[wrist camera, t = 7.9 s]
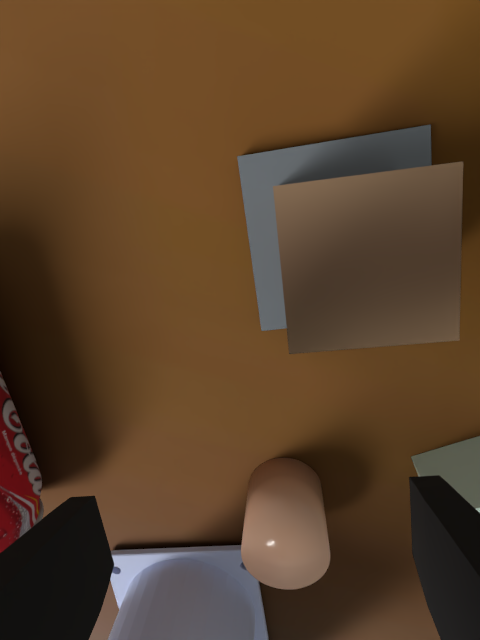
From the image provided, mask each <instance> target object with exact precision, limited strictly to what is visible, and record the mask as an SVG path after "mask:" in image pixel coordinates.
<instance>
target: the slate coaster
mask: <svg viewBox="0 0 480 640" xmlns="http://www.w3.org/2000/svg"><path fill="white" fill-rule="evenodd" d="M237 158H238V165H239V172H240V179H241V186H242V194H243V201H244V208H245V215H246V222H247V230H248V237H249V244H250V251H251V258H252V265H253V273H254V280H255V287H256V294H257V301H258V309H259V316H260V323H261V330H262V331H265V330H275V329H284V328H287V325H286V315H285V305H284V295H283V284H282V274H281V264H280V254H279V243H278V233H277V223H276V213H275V202H274V192H273V186H278V185H285V184H293V183H301V182H308V181H316V180H324V179H331V178H339V177H347V176H354V175H362V174H370V173H377V172H385V171H393V170H401V169H408V168H416V167H424V166H431V125H425V126H419V127H413V128H407V129H401V130H394V131H388V132H382V133H376V134H370V135H364V136H358V137H352V138H346V139H340V140H334V141H328V142H322V143H316V144H310V145H304V146H298V147H291V148H285V149H279V150H273V151H267V152H261V153H255V154H249V155H243V156H237Z"/></svg>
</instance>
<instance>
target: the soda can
mask: <svg viewBox="0 0 480 640" xmlns="http://www.w3.org/2000/svg"><path fill="white" fill-rule="evenodd" d="M41 487H42V478H41V473H40V470H39V467H38V465H37V462H36V459H35V457H34V454H33V451H32V449H31V446H30V444H29V441H28V439H27V436H26V434H25V431H24V429H23V426H22V424H21V421H20V419H19V416H18V414H17V411H16V409H15V406H14V404H13V401H12V399H11V396H10V394H9V392H8V389H7V387H6V384H5V382H4V379H3V377H2V374H1V372H0V553H1V552H2V551H4V550H5V549H6V548H7V547H9V546H10V545H11V544H12V543H14V542H15V541H16V540H17V539H18V538H20V537H21V536H22V535H23V534H25V533H26V532H27V531H28V530H29V529H31V528H32V527H33V526H34V525H36V524H37V523H38V522H39V521H41V520H42V517H43V512H44V508H43V503H42V501H41V499H40V493H41Z"/></svg>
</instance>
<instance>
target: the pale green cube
mask: <svg viewBox="0 0 480 640" xmlns="http://www.w3.org/2000/svg"><path fill="white" fill-rule="evenodd" d="M411 458H412V461H413V463H414V466H415V468H416V471H417V474H418V476H435V475H439V476H441V477H442V478H443V479H444V480H445V481H446V482H447V483H449V484H450V485H451V486H452V487H453V488H454V489H455V490H456V491H457V492H458V493H459V494H460V495H461V496H462V497H463V498H464V499H465V500H466V501H468V502H469V503H470V504H471V505H472V506H473V507H474V508H475V509H476V510H477V511H478V512H479V513H480V436H478V437H474V438H471V439H468V440H464V441H461V442H458V443H454V444H451V445H448V446H444V447H441V448H438V449H434V450H431V451H428V452H424V453H421V454H418V455H414V456H411Z"/></svg>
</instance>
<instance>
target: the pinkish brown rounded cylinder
mask: <svg viewBox="0 0 480 640" xmlns="http://www.w3.org/2000/svg"><path fill="white" fill-rule="evenodd" d="M241 557H242V561H243V563H244V566H245V567H246V569H247V570H248V572H249V573H250V574H251V575H252V576H253V577H254V578H256V579H257V580H258V581H260V582H262V583H263V584H266V585H268V586H271V587H274V588H278V589H289V590H290V589H299V588H303V587H306V586H309V585H311V584H313V583H315V582H316V581H318V580H319V579H320V578H321V577H322V576H323V575H324V574H325V572H326V571H327V569H328V567H329V563H330V547H329V540H328V532H327V524H326V516H325V509H324V501H323V493H322V486H321V482H320V479H319V477H318V475H317V474H316V472H315V471H314V470H313V469H312V468H311V467H310V466H308V465H307V464H305V463H303V462H301V461H299V460H296V459H292V458H275V459H271V460H268V461H266V462H264V463H262V464H261V465H259V466H258V467H257V468H256V469H255V470H254V472H253V473H252V475H251V477H250V480H249V485H248V494H247V502H246V511H245V519H244V528H243V537H242V545H241Z"/></svg>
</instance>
